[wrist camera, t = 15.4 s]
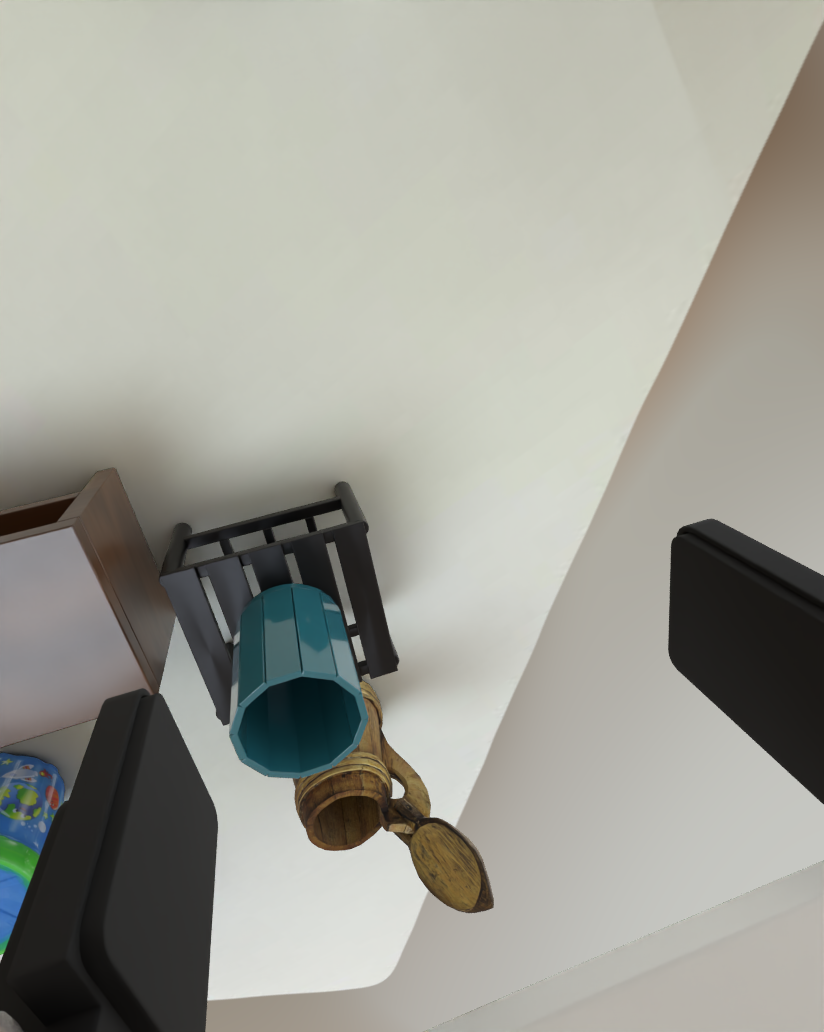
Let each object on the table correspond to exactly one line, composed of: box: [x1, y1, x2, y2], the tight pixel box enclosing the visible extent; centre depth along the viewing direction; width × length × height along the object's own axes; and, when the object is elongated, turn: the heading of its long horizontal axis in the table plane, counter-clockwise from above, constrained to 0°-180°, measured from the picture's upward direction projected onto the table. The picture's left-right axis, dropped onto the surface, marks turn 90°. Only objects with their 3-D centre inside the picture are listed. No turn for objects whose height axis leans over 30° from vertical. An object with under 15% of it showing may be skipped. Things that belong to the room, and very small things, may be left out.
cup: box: [229, 584, 369, 779], centre depth 33 cm, size 7×7×9 cm
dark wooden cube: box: [0, 468, 176, 748], centre depth 35 cm, size 12×13×10 cm
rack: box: [159, 482, 399, 726], centre depth 40 cm, size 12×13×8 cm
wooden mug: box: [293, 681, 494, 913], centre depth 43 cm, size 9×14×18 cm, turn 74°
